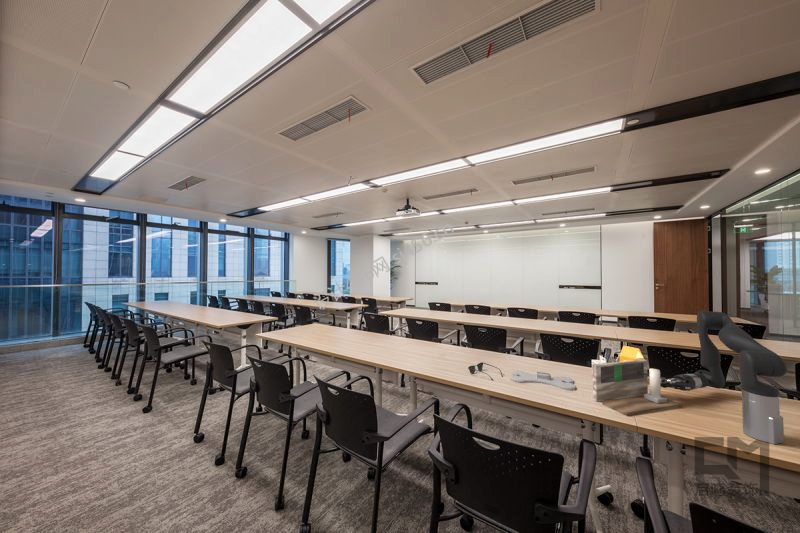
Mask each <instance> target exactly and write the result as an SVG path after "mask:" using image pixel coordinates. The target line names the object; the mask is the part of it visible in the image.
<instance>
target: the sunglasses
mask: <svg viewBox="0 0 800 533" xmlns="http://www.w3.org/2000/svg"><path fill="white" fill-rule="evenodd" d="M484 365H487V366H490V367H493V368H496V369H497V370H499V371H500V375H501V376H500V377H504V376H503V372H502V370H501V369H500V368H498V367H497V366H494V365H493V364H492V365H491V364H488V363H486V362H482V361H481V362H479V363H477V364H475V365H470V366H468V367H467V369H468V371H469V373H470V374H471V373H472V374H475V372H480V373H483V374H485V375H487V376H489V374H488V373H486V372H484V371H483V368H484ZM476 367H477V368H476ZM489 378H490V379H491V381H493V380H494V379H493V378H492V377H491V376H489Z"/></svg>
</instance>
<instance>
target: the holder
mask: <svg viewBox="0 0 800 533" xmlns="http://www.w3.org/2000/svg"><path fill="white" fill-rule="evenodd" d="M510 381H512V382H514V383H518V384H525V383H526V384H527V383H528V384H529V383H530V384H531V383H532V384H533V383H534V384H541V383H542V384H543V385H548V386H551V385H552V386H553V387H555V388H557V389H558V388H559V389H561V390H564V391H575V390H577V386H576V385H575V384H574V382H575V381H574V379H573V378H571V377H570V376H569V377H567V376H562V375H561V376H560V375H559V376H551V373H549V372H542V371H536V374H535V373H529V372H527V371H523V370H517V369H516V370H513V371H512V372H511V376H510Z"/></svg>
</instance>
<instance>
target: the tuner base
mask: <svg viewBox="0 0 800 533" xmlns="http://www.w3.org/2000/svg"><path fill="white" fill-rule="evenodd" d="M592 369H593V379H592V401H594V402H602V403H601V404H602V405H603V406H605V407H607V408H609V409H612V410H614V411H615V412H618V413H620V414H622V415H623V416H626V417H630V416H636V415H643V414H649V413H654V412H655V413H656V412H660V411H667V410H673V409H678V408H679V409H680V408H683V406H682V403H680V402H678V401H674V400H672V399H669V398H667V402H663V403H656V402H653V401H651V400H648V399H645V398H644V394H649V386H648V385H649V384H648V382H649V381H648V376H647V375H643V374H640V373H638V371H640V372H644V373H647V374H648V360H647V359H645V358H644V359H640V360H630V361H620V360H619V361H613V362H612V361H611V362H606V363H601V364H592V363H591V370H592Z"/></svg>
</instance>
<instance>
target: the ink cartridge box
mask: <svg viewBox="0 0 800 533" xmlns="http://www.w3.org/2000/svg"><path fill="white" fill-rule="evenodd" d="M601 363H607V358H605V357H603V356H602V355H599V359H591V365H592V364H601ZM591 378H592V380H593V369H592V368H591Z"/></svg>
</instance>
